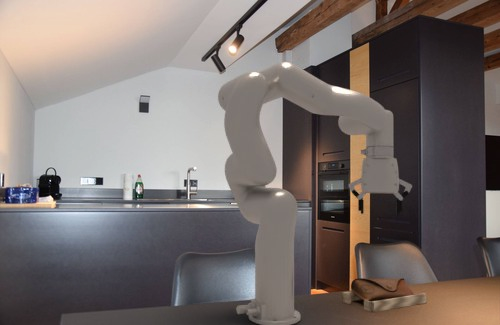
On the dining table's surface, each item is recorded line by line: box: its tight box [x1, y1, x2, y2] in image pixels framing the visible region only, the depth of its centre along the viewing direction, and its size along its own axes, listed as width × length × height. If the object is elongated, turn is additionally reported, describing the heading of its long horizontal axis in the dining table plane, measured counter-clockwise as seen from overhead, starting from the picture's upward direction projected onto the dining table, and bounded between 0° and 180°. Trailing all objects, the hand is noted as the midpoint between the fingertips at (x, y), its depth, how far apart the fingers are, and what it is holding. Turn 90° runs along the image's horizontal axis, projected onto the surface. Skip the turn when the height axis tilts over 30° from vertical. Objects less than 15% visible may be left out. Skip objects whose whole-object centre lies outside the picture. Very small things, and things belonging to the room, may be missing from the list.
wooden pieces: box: [341, 290, 427, 313], centre depth 121 cm, size 20×12×2 cm, turn 117°
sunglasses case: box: [350, 277, 415, 302], centre depth 123 cm, size 18×7×7 cm, turn 109°
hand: (379, 214), depth 122 cm, fingers open, 9 cm apart
